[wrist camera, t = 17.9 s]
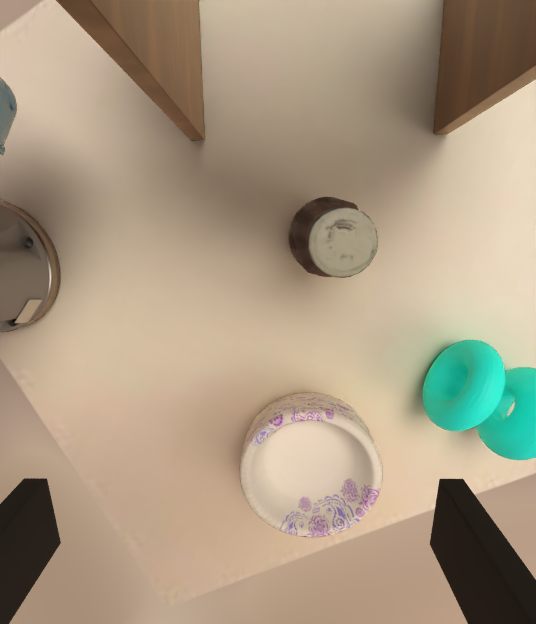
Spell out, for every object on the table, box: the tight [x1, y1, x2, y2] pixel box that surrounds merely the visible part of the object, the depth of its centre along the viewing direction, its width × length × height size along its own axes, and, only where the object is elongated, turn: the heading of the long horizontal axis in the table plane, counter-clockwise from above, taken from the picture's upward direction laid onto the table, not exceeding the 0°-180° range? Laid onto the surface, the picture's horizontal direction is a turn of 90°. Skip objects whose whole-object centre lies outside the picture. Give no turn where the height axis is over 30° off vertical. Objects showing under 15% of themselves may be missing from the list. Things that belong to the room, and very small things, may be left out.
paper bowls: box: [240, 393, 383, 537], centre depth 41 cm, size 15×15×8 cm
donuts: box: [423, 340, 536, 460], centre depth 37 cm, size 10×10×10 cm
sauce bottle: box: [289, 197, 378, 278], centre depth 29 cm, size 6×6×20 cm
